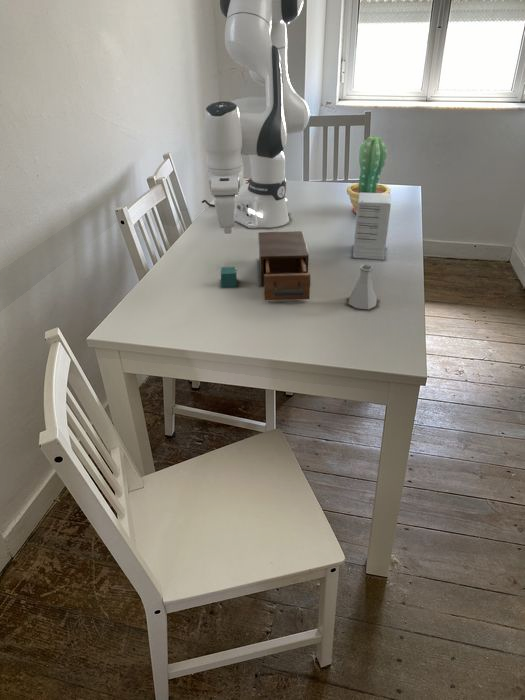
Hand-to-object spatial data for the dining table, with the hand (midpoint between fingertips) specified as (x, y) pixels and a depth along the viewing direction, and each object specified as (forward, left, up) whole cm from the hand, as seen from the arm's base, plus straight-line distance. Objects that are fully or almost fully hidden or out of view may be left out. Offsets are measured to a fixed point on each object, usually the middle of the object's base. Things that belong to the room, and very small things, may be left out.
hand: (228, 231), depth 135 cm
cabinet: (+6, +15, -15) cm, 22 cm away
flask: (+33, +15, -15) cm, 39 cm away
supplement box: (+17, +42, -15) cm, 47 cm away
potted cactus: (-4, +72, -15) cm, 73 cm away
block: (0, 0, -15) cm, 15 cm away
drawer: (+15, +6, -14) cm, 21 cm away
